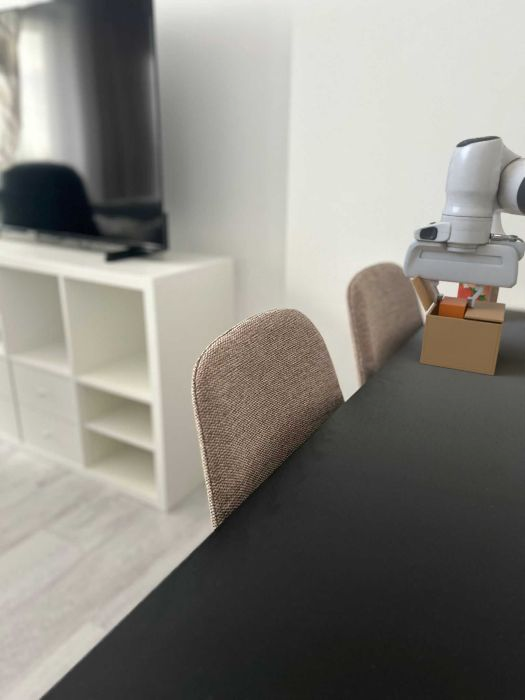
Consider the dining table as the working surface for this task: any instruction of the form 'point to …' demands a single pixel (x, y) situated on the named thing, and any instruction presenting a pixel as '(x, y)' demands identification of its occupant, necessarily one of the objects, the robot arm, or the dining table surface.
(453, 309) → the block
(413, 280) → the cardboard box flap
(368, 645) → the dining table surface
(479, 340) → the brown open box
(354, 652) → the dining table surface
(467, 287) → the fruit juice
